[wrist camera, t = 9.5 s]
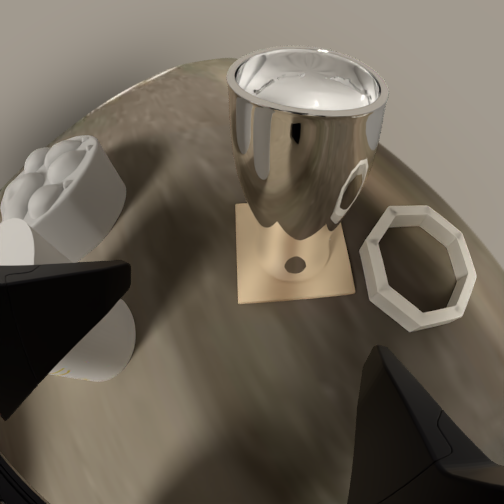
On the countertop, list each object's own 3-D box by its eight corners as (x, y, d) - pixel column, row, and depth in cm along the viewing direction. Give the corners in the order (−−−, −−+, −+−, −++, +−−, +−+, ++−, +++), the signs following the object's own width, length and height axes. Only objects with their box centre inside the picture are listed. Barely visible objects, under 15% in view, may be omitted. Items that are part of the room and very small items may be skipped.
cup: (53, 359, 19) (-49, 322, 9) (79, 281, 23) (-6, 212, 12) (120, 396, 18) (3, 385, 7) (148, 304, 21) (57, 227, 11)
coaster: (238, 304, 21) (238, 302, 21) (235, 206, 25) (235, 204, 25) (354, 293, 21) (355, 292, 20) (333, 200, 25) (334, 198, 25)
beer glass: (266, 301, 21) (257, 138, 7) (237, 227, 24) (204, 57, 10) (348, 269, 21) (427, 109, 8) (311, 202, 24) (334, 40, 11)
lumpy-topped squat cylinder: (33, 225, 27) (-8, 184, 19) (111, 162, 30) (81, 109, 22) (48, 288, 23) (-9, 249, 15) (142, 212, 26) (104, 149, 18)
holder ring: (375, 338, 19) (385, 333, 17) (351, 219, 24) (356, 206, 22) (472, 316, 19) (485, 309, 17) (441, 216, 24) (450, 205, 22)
